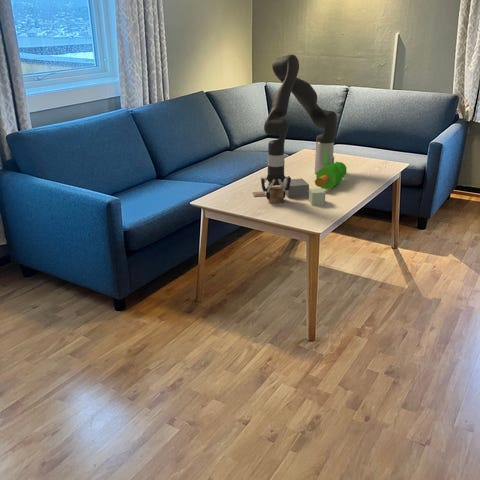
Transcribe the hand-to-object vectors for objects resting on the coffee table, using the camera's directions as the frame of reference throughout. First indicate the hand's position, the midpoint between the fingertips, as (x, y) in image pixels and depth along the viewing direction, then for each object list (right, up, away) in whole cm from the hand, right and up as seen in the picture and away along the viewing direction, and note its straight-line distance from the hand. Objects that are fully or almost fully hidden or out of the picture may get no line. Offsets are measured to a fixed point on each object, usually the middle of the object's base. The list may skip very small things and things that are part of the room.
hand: (275, 198), depth 244 cm
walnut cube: (0, -1, 0) cm, 1 cm away
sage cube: (+19, -2, -3) cm, 19 cm away
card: (-7, +3, +9) cm, 12 cm away
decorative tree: (+30, +9, +21) cm, 38 cm away
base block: (+10, +3, +9) cm, 14 cm away
